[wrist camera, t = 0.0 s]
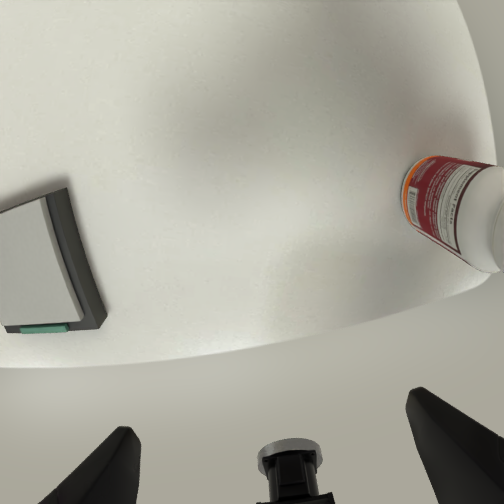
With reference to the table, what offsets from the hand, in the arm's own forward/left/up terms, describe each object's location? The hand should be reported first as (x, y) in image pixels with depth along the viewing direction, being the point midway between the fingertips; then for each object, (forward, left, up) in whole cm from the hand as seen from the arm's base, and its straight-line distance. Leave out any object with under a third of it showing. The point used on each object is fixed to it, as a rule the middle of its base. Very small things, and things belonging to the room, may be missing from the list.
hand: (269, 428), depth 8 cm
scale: (+2, +19, -15) cm, 24 cm away
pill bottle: (+3, -14, -15) cm, 21 cm away
